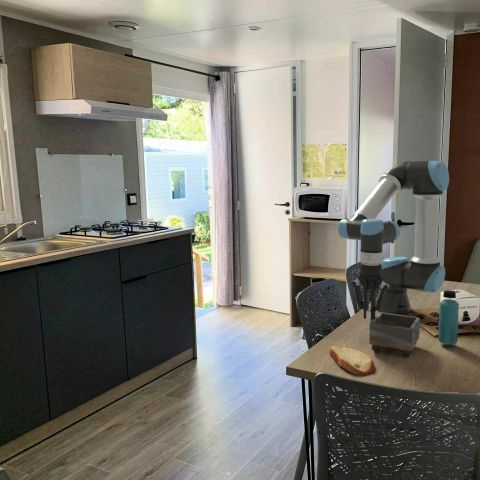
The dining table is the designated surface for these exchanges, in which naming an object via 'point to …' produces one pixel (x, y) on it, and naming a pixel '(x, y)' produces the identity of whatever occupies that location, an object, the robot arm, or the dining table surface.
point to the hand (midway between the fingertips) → (369, 327)
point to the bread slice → (352, 360)
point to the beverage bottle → (448, 319)
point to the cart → (394, 332)
